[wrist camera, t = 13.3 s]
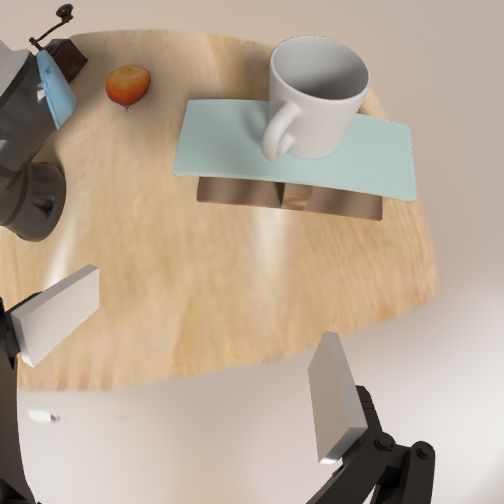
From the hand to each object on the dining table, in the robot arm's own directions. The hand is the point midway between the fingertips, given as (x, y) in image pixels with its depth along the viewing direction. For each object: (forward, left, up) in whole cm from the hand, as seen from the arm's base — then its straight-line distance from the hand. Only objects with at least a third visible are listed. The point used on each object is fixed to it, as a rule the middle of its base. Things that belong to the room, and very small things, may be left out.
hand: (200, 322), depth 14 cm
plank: (-12, +15, -14) cm, 24 cm away
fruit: (-40, -1, -23) cm, 46 cm away
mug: (-12, +15, -13) cm, 23 cm away
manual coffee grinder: (-65, -13, -23) cm, 70 cm away
